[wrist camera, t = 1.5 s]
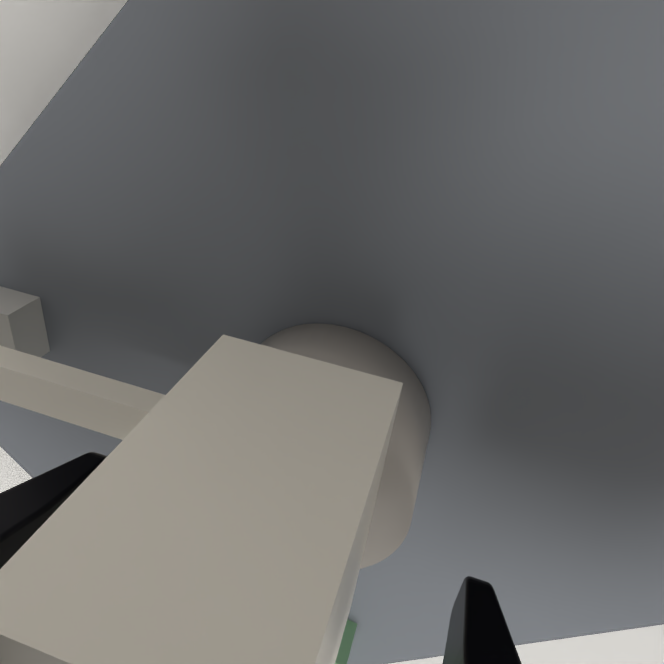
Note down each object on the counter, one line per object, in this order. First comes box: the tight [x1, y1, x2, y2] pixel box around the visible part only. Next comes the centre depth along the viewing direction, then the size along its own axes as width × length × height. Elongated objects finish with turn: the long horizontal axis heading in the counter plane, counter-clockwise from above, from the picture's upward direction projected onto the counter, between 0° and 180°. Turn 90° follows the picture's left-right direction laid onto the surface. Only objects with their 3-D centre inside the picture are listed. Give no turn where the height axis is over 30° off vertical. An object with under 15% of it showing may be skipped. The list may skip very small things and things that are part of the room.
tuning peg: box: [0, 323, 431, 664], centre depth 10 cm, size 12×6×8 cm, turn 84°
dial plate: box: [0, 0, 664, 664], centre depth 12 cm, size 22×17×3 cm
